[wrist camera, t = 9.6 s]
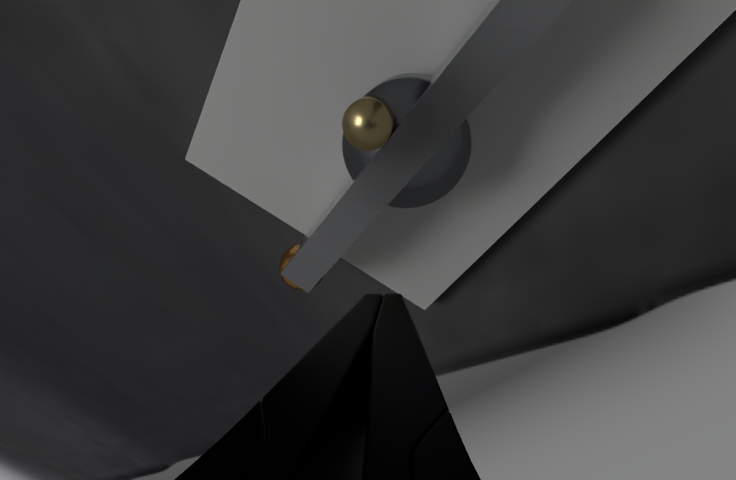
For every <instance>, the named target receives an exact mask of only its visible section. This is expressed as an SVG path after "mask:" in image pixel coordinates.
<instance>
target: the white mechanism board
mask: <svg viewBox="0 0 736 480" xmlns="http://www.w3.org/2000/svg"><path fill="white" fill-rule="evenodd" d="M491 1H492V0H241V1H240V4H239V7H238V10H237V13H236V16H235V19H234V21H233V24H232V27H231V30H230V33H229V36H228V38H227V41H226V44H225V47H224V50H223V53H222V56H221V58H220V61H219V64H218V67H217V70H216V73H215V75H214V78H213V81H212V84H211V87H210V90H209V93H208V95H207V98H206V101H205V104H204V107H203V110H202V113H201V115H200V118H199V121H198V124H197V127H196V130H195V132H194V135H193V138H192V141H191V144H190V147H189V150H188V152H187V155H186V158H185V160H187V161H189V162H190V163H192V164H193V165H195V166H196V167H198V168H200V169H201V170H203V171H204V172H206V173H208V174H209V175H211V176H212V177H214V178H216V179H217V180H219V181H220V182H222V183H224V184H225V185H227V186H228V187H230V188H231V189H233V190H235V191H236V192H238V193H239V194H241V195H243V196H244V197H246V198H247V199H249V200H251V201H252V202H254V203H255V204H257V205H258V206H260V207H262V208H263V209H265V210H266V211H268V212H270V213H271V214H273V215H274V216H276V217H278V218H279V219H281V220H282V221H284V222H286V223H287V224H289V225H290V226H292V227H293V228H295V229H297V230H298V231H300V232H301V233H303V234H305V235H307V233H308V232H309V231H310V230H311V228H312V227H313V226H314V225H315V223H316V222H317V221H318V219H319V218H320V217H321V216H322V214H323V213H324V212H325V211H326V209H327V208H328V207H329V206H330V204H331V203H332V202H333V201H334V199H335V198H336V197H337V195H338V194H339V193H340V192H341V190H342V189H343V188H344V187H345V185H346V184H347V183H348V182H349V180H350V179H351V176H350V174H349V172H348V170H347V168H346V165H345V162H344V157H343V151H342V138H343V129H342V119H343V115H344V113H345V111H346V109H347V108H348V107H349V106H350V105H351V104H352V103H354V102H355V101H356V100H358V99H359V98H361V97H363V96H364V95H365V94H367V93H368V92H369V91H370V90H372V89H373V88H374V87H376V86H377V85H378V84H380V83H381V82H382V81H384V80H386V79H388V78H390V77H393V76H396V75H400V74H406V73H417V74H423V75H428V76H430V77H432V76H433V74H434V73H435V72H436V70H437V69H438V68H439V67H440V65H441V64H442V63H443V62H444V60H445V59H446V58H447V57H448V55H449V54H450V53H451V52H452V50H453V49H454V48H455V47H456V45H457V44H458V43H459V41H460V40H461V39H462V38H463V36H464V35H465V34H466V33H467V31H468V30H469V29H470V28H471V26H472V25H473V24H474V23H475V21H476V20H477V19H478V17H479V16H480V15H481V14H482V12H483V11H484V10H485V9H486V7H487V6H488V5H489V4H490V2H491ZM735 10H736V0H573V1H572V2H571V3H570V4H569V5H568V6H567V7H566V8H565V9H564V11H563V12H562V13H561V14H560V15H559V16H558V17H557V18H556V19H555V20H554V22H553V23H552V24H551V25H550V26H549V27H548V28H547V29H546V30H545V32H544V33H543V34H542V35H541V36H540V37H539V38H538V39H537V40H536V41H535V43H534V44H533V45H532V46H531V47H530V48H529V49H528V50H527V51H526V53H525V54H524V55H523V56H522V57H521V58H520V59H519V60H518V61H517V63H516V64H515V65H514V66H513V67H512V68H511V69H510V70H509V71H508V72H507V74H506V75H505V76H504V77H503V78H502V79H501V80H500V81H499V82H498V84H497V85H496V86H495V87H494V88H493V89H492V90H491V91H490V92H489V93H488V95H487V96H486V97H485V98H484V99H483V100H482V101H481V102H480V103H479V105H478V106H477V107H476V108H475V109H474V110H473V111H472V112H471V113H470V114H469V116H468V117H467V121H468V124H469V127H470V132H471V143H472V144H471V154H470V158H469V162H468V165H467V168H466V170H465V172H464V174H463V176H462V177H461V179H460V180H459V182H458V183H457V184H456V185H455V187H454V188H453V189H452V190H451V191H450V192H448V193H447V194H446V195H445V196H443V197H442V198H440V199H439V200H437V201H435V202H433V203H430V204H428V205H425V206H421V207H416V208H396V207H391V206H386V207H385V208H384V210H383V211H382V212H381V213H380V214H379V215H378V216H377V217H376V218H375V220H374V221H373V222H372V223H371V224H370V225H369V226H368V227H367V228H366V229H365V231H364V232H363V233H362V234H361V235H360V236H359V237H358V238H357V239H356V241H355V242H354V243H353V244H352V245H351V246H350V247H349V248H348V249H347V251H346V252H345V253H344V254H343V255H342V256H341V258H343V259H344V260H346V261H348V262H349V263H351V264H352V265H354V266H355V267H357V268H359V269H360V270H362V271H363V272H365V273H367V274H368V275H370V276H371V277H373V278H375V279H376V280H378V281H379V282H381V283H382V284H384V285H386V286H387V287H389V288H390V289H392V290H394V291H395V292H397V293H398V294H402V296H403V297H405V298H406V299H408V300H410V301H411V302H413V303H414V304H416V305H417V306H419V307H421V308H422V309H424V310H425V309H426V308H427V307H428V306H430V305H431V304H432V303H433V302H434V301H435V300H436V299H437V298H438V297H439V296H440V295H441V294H442V293H443V292H444V291H445V290H446V289H447V288H448V287H449V286H450V285H451V284H452V283H453V282H454V281H455V280H456V279H457V278H459V277H460V276H461V275H462V274H463V273H464V272H465V271H466V270H467V269H468V268H469V267H470V266H471V265H472V264H473V263H474V262H475V261H476V260H477V259H478V258H479V257H480V256H481V255H482V254H483V253H484V252H485V251H486V250H488V249H489V248H490V247H491V246H492V245H493V244H494V243H495V242H496V241H497V240H498V239H499V238H500V237H501V236H502V235H503V234H504V233H505V232H506V231H507V230H508V229H509V228H510V227H511V226H512V225H513V224H514V223H515V222H516V221H518V220H519V219H520V218H521V217H522V216H523V215H524V214H525V213H526V212H527V211H528V210H529V209H530V208H531V207H532V206H533V205H534V204H535V203H536V202H537V201H538V200H539V199H540V198H541V197H542V196H543V195H544V194H545V193H547V192H548V191H549V190H550V189H551V188H552V187H553V186H554V185H555V184H556V183H557V182H558V181H559V180H560V179H561V178H562V177H563V176H564V175H565V174H566V173H567V172H568V171H569V170H570V169H571V168H572V167H573V166H574V165H576V164H577V163H578V162H579V161H580V160H581V159H582V158H583V157H584V156H585V155H586V154H587V153H588V152H589V151H590V150H591V149H592V148H593V147H594V146H595V145H596V144H597V143H598V142H599V141H600V140H601V139H602V138H603V137H604V136H606V135H607V134H608V133H609V132H610V131H611V130H612V129H613V128H614V127H615V126H616V125H617V124H618V123H619V122H620V121H621V120H622V119H623V118H624V117H625V116H626V115H627V114H628V113H629V112H630V111H631V110H632V109H633V108H635V107H636V106H637V105H638V104H639V103H640V102H641V101H642V100H643V99H644V98H645V97H646V96H647V95H648V94H649V93H650V92H651V91H652V90H653V89H654V88H655V87H656V86H657V85H658V84H659V83H660V82H661V81H662V80H663V79H665V78H666V77H667V76H668V75H669V74H670V73H671V72H672V71H673V70H674V69H675V68H676V67H677V66H678V65H679V64H680V63H681V62H682V61H683V60H684V59H685V58H686V57H687V56H688V55H689V54H690V53H691V52H692V51H694V50H695V49H696V48H697V47H698V46H699V45H700V44H701V43H702V42H703V41H704V40H705V39H706V38H707V37H708V36H709V35H710V34H711V33H712V32H713V31H714V30H715V29H716V28H717V27H718V26H719V25H720V24H721V23H723V22H724V21H725V20H726V19H727V18H728V17H729V16H730V15H731V14H732V13H733V12H734V11H735Z"/></svg>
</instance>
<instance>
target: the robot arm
mask: <svg viewBox="0 0 736 480" xmlns="http://www.w3.org/2000/svg"><path fill="white" fill-rule="evenodd" d="M175 480H481V479H480V477H479V475H478V474H477V472H476V470H475V468H474V466H473V464H472V462H471V460H470V458H469V455H468V453H467V451H466V449H465V446H464V444H463V442H462V439H461V437H460V435H459V433H458V431H457V428H456V426H455V423H454V421H453V418H452V416H451V413H450V412H449V409H448V406H447V404H446V402H445V399H444V397H443V394H442V392H441V389H440V387H439V384H438V382H437V379H436V377H435V374H434V372H433V369H432V367H431V364H430V362H429V360H428V357H427V355H426V352H425V350H424V347H423V345H422V342H421V340H420V337H419V335H418V332H417V330H416V327H415V325H414V323H413V320H412V318H411V315H410V313H409V310H408V308H407V305H406V303H405V300H404V298H403V296H402V294H385V295H384V296H383V295H382V294H366V295H364V296H363V297H362V298H361V299H360V300H359V301H358V302H357V303H356V304H355V305H354V306H353V307H352V308H351V309H350V310H349V311H348V312H347V313H346V314H345V315H344V316H343V317H342V318H341V319H340V320H339V321H338V322H337V323H336V324H335V325H334V326H333V327H332V328H331V329H330V330H329V331H328V332H327V333H326V334H325V335H324V337H323V338H322V339H321V340H320V341H319V342H318V343H317V344H316V345H315V346H314V347H313V348H312V349H311V350H310V351H309V352H308V353H307V354H306V355H305V356H304V357H303V358H302V359H301V360H300V361H299V362H298V363H297V364H296V365H295V366H294V367H293V368H292V369H291V370H290V371H289V372H288V373H287V374H286V375H285V376H284V377H283V378H282V379H281V380H280V381H279V382H278V383H277V384H276V385H275V386H274V387H273V388H272V389H271V390H270V391H269V392H268V393H267V394H266V395H265V396H264V397H263V402H262V401H259V402H258V403H257V404H256V405H255V406H254V407H253V408H252V409H251V410H250V411H249V412H248V413H247V414H246V415H245V416H244V417H243V418H242V419H241V420H240V421H239V422H238V423H237V424H236V425H235V426H234V427H233V428H232V429H230V430H229V431H228V432H227V433H226V434H225V435H224V436H223V437H222V438H221V439H220V440H219V441H218V442H217V443H216V444H214V445H213V446H212V447H211V448H210V449H209V450H208V451H207V452H205V453H204V454H203V455H202V456H201V457H200V458H199V459H198V460H197V461H195V462H194V463H193V464H192V465H191V466H190V467H188V468H187V469H186V470H185V471H184V472H183V473H182V474H180V475H179V476H178V477H177V478H176V479H175Z"/></svg>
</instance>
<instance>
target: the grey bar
mask: <svg viewBox="0 0 736 480" xmlns="http://www.w3.org/2000/svg"><path fill="white" fill-rule="evenodd" d="M572 1H573V0H492V1H491V2H490V4H489V5H488V6H487V7H486V9H485V10H484V11H483V12H482V14H481V15H480V16H479V17H478V19H477V20H476V21H475V23H474V24H473V25H472V26H471V28H470V29H469V30H468V31H467V33H466V34H465V35H464V36H463V38H462V39H461V40H460V41H459V43H458V44H457V45H456V47H455V48H454V49H453V50H452V52H451V53H450V54H449V55H448V57H447V58H446V59H445V60H444V62H443V63H442V64H441V65H440V67H439V68H438V69H437V70H436V72H435V73H434V74H433V76H432V77H430V76H428V75H423V74H417V73H406V74H400V75H396V76H393V77H390V78H388V79H386V80H384V81H382V82H381V83H380V84H378V85H377V86H376V87H374V88H373V89H372V90H370V91H369V92H368V93H367V94H365V95H364V96H363V97H361V98H359V99H358V100H356V101H355V102H354V103H352V104H351V105H350V106H349V107H348V108H347V109H346V111H345V113H344V115H343V119H342V129H343V138H342V151H343V157H344V162H345V165H346V168H347V170H348V172H349V174H350V176H351V179H350V180H349V182H348V183H347V184H346V185H345V187H344V188H343V189H342V190H341V192H340V193H339V194H338V195H337V197H336V198H335V199H334V201H333V202H332V203H331V204H330V206H329V207H328V208H327V209H326V211H325V212H324V213H323V214H322V216H321V217H320V218H319V219H318V221H317V222H316V223H315V225H314V226H313V227H312V228H311V230H310V231H309V232H308V233H307V235H306V236H305V237H304V238H303V240H302V241H301V243H300V244H299V245H295V246H293V247H291V248H289V249H288V250H287V251H286V252H285V253H284V254H283V255H282V257H281V259H280V263H279V272H280V276H281V278H282V280H283V281H284V282H285V283H286V284H287V285H288V286H289V287H291V288H293V289H296V290H304V291H306V292H307V293H309V291H310V290H311V289H312V288H313V287H315V286H316V285H318V284H319V283H320V282H321V280H322V279H323V277H324V275H325V274H326V273H327V272H328V270H329V269H330V268H331V267H332V266H333V265H334V264H335V263H336V262H337V260H338V259H339V258H340V257H341V256H342V255H343V254H344V253H345V252H346V251H347V249H348V248H349V247H350V246H351V245H352V244H353V243H354V242H355V241H356V239H357V238H358V237H359V236H360V235H361V234H362V233H363V232H364V231H365V229H366V228H367V227H368V226H369V225H370V224H371V223H372V222H373V221H374V220H375V218H376V217H377V216H378V215H379V214H380V213H381V212H382V211H383V210H384V208H385V207H386V206H391V207H396V208H416V207H421V206H425V205H428V204H430V203H433V202H435V201H437V200H439V199H440V198H442V197H443V196H445V195H446V194H447V193H448V192H450V191H451V190H452V189H453V188H454V187H455V185H456V184H457V183H458V182H459V180H460V179H461V177H462V176H463V174H464V172H465V170H466V168H467V165H468V162H469V158H470V154H471V144H472V143H471V132H470V127H469V124H468V121H467V117H468V116H469V114H470V113H471V112H472V111H473V110H474V109H475V108H476V107H477V106H478V105H479V103H480V102H481V101H482V100H483V99H484V98H485V97H486V96H487V95H488V93H489V92H490V91H491V90H492V89H493V88H494V87H495V86H496V85H497V84H498V82H499V81H500V80H501V79H502V78H503V77H504V76H505V75H506V74H507V72H508V71H509V70H510V69H511V68H512V67H513V66H514V65H515V64H516V63H517V61H518V60H519V59H520V58H521V57H522V56H523V55H524V54H525V53H526V51H527V50H528V49H529V48H530V47H531V46H532V45H533V44H534V43H535V41H536V40H537V39H538V38H539V37H540V36H541V35H542V34H543V33H544V32H545V30H546V29H547V28H548V27H549V26H550V25H551V24H552V23H553V22H554V20H555V19H556V18H557V17H558V16H559V15H560V14H561V13H562V12H563V11H564V9H565V8H566V7H567V6H568V5H569V4H570V3H571V2H572Z"/></svg>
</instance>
